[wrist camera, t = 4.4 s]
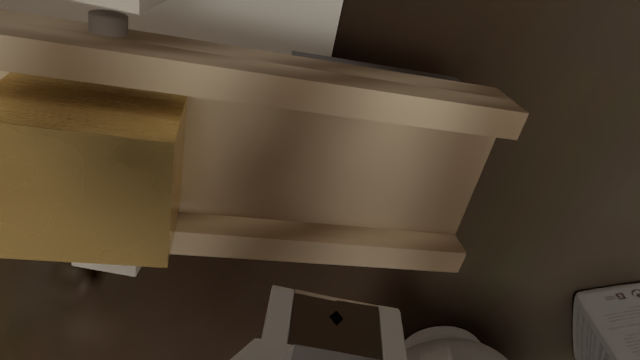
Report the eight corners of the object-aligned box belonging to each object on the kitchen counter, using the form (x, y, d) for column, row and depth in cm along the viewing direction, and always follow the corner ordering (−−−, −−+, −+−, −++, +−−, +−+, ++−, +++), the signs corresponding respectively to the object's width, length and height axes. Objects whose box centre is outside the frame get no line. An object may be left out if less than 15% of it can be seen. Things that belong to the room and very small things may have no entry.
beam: (475, 55, 20) (535, 99, 16) (417, 214, 24) (453, 282, 20) (-365, -91, 14) (-614, -82, 10) (-258, 152, 18) (-405, 230, 14)
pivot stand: (352, -46, 20) (357, -19, 13) (298, 205, 27) (281, 323, 19) (-109, -151, 19) (-406, -190, 12) (-51, 138, 26) (-219, 235, 18)
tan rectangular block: (187, 93, 15) (174, 142, 12) (180, 202, 17) (167, 267, 14) (13, 69, 14) (-48, 117, 11) (27, 189, 16) (-21, 256, 13)
